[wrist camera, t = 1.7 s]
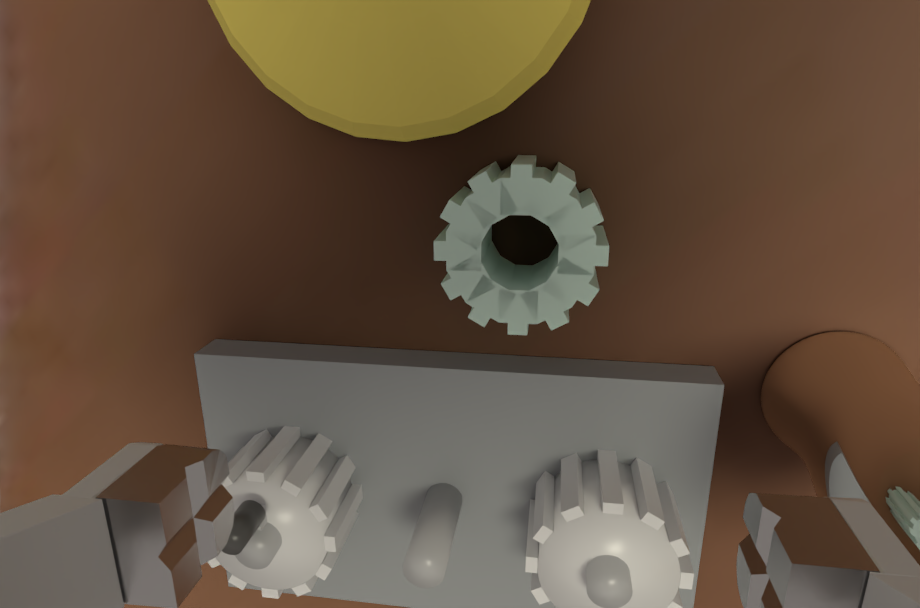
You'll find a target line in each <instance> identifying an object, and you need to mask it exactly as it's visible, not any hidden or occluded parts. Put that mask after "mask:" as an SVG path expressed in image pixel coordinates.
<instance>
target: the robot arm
mask: <svg viewBox="0 0 920 608" xmlns="http://www.w3.org/2000/svg"><path fill="white" fill-rule="evenodd" d="M229 474H230V473H229V467H228V462H227V456H226V455H225V454H224V453H223V452H222V451H221V450H218V449H209V448H199V447H189V446H179V445H169V444H165V445H164V444H161V443H147V442H135V443H129V444H128V445H126V446H125V447H124V448H123V449H121V450H120V451H119V452H117V453H116V454H115V455H113V456H112V457H111V458H110V459H108V460H107V461H106V462H104V463H103V464H102V465H101V466H99V467H98V468H97V469H95V470H94V471H93V472H91V473H90V474H89V475H88V476H86V477H85V478H84V479H82V480H81V481H80V482H78V483H77V484H76V485H75V486H73V487H72V488H71V489H69V490H68V491H67V492H65V493H64V494H63V495H50V496H47V497H45V498H42V499H39V500H36V501H33V502H31V503H28V504H25V505H22V506H19V507H16V508H14V509H11V510H8V511H5V512H2V513H0V608H123V607H124V604H132V605H144V606H155V607H166V608H178V607H179V606H180V605H181V603H182V602H183V601H184V599H185V598H186V597H187V595H188V594H189V593H190V592H191V590H192V589H193V588H194V586H195V585H196V584H197V582H198V581H199V580H200V579H201V577H202V572H201V565H202V564H204V563H206V562H208V561H210V560H212V559H213V558H215V557H217V556H218V555H219V554H220V552H221V551H222V549H223V548H224V547H225V545H226V544H227V542H228V539H229V536H230V533H231V530H232V528H233V522H234V503H233V497H232V496H231V495H230V493H229V492H228V491H227V490H226V488H225V487H224V486H223V483H224V482H225V480H226V478H227V477H228V475H229ZM743 519H744V521H745V524H746V526H747V528H748V530H749V533H750V534H749V535H748V536H747V537H746V538H745V539H744V540H742V541H741V542H740V543H739V547H738V556H737V584H738V589H739V593H740V598H741V601H742V604H743V607H744V608H920V565H919V564H918V563H917V562H916V560H915V559H914V558H913V557H912V555H911V554H910V553H909V552H908V550H907V549H906V548H905V546H904V545H903V544H902V543H901V541H900V540H899V539H898V538H897V536H896V535H895V534H894V533H893V531H892V530H891V529H890V527H889V526H888V525H887V524H886V522H885V521H884V520H883V519H882V517H881V516H880V515H879V514H878V512H877V511H876V510H875V509H874V507H873V506H872V505H871V503H869V502H867V501H866V500H864V499H860V498H838V497H812V496H794V495H776V494H758V493H749V495H748V498H747V500H746V502H745V508H744V514H743Z"/></svg>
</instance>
